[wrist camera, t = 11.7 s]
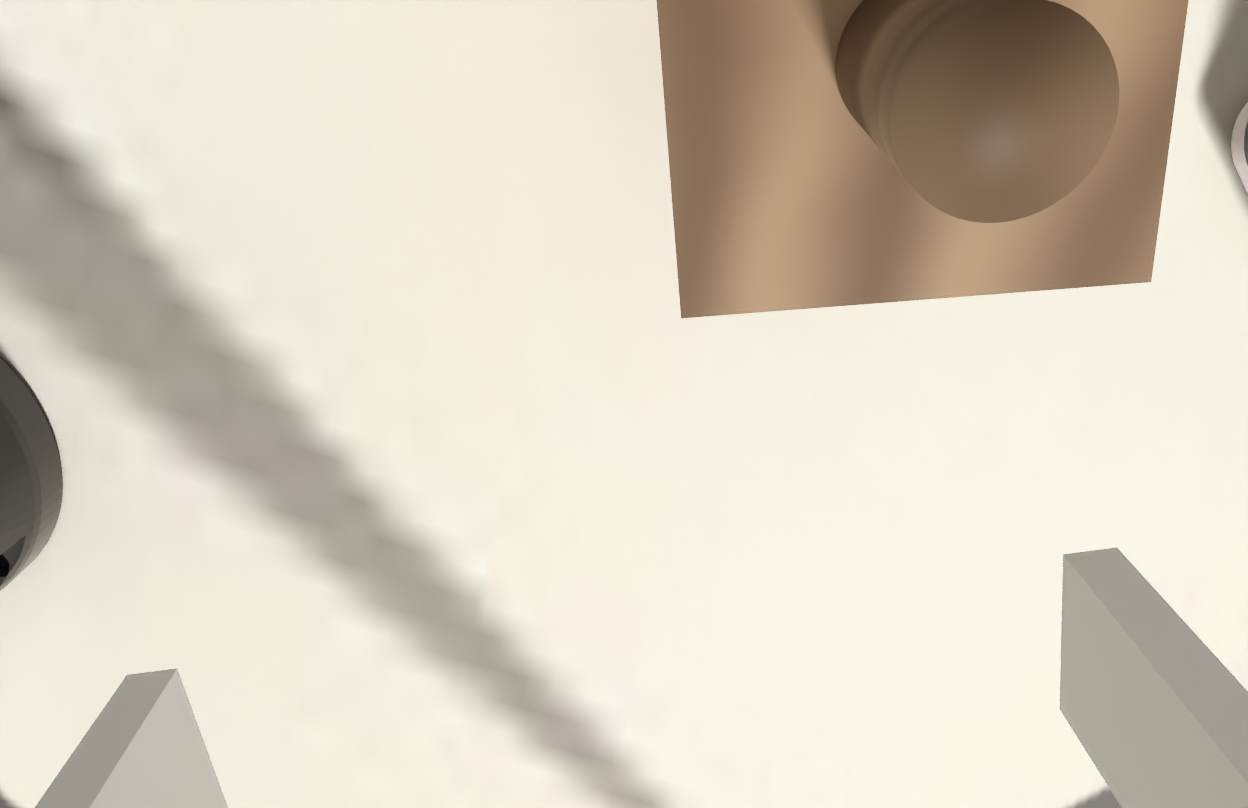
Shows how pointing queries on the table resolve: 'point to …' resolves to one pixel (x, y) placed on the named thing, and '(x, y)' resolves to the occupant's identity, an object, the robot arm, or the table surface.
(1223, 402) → the table surface
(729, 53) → the lid
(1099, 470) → the table surface
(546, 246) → the table surface
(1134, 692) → the robot arm
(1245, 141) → the camera
